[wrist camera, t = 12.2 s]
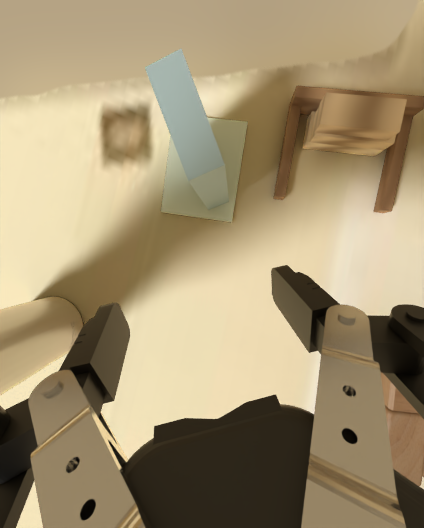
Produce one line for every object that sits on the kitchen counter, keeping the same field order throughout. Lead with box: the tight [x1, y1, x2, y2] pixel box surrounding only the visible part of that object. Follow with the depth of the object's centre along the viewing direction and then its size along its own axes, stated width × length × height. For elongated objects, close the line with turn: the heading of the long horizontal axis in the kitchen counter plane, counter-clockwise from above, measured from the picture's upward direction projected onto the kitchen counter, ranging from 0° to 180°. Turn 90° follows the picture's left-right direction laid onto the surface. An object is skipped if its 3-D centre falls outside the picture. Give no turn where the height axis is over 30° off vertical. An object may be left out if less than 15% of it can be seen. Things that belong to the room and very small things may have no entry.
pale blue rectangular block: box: [145, 49, 229, 210], centre depth 23 cm, size 3×9×13 cm, turn 21°
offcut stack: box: [302, 92, 407, 156], centre depth 25 cm, size 9×4×5 cm, turn 81°
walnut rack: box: [273, 86, 424, 213], centre depth 26 cm, size 14×12×3 cm
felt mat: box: [161, 118, 248, 222], centre depth 29 cm, size 10×13×1 cm
